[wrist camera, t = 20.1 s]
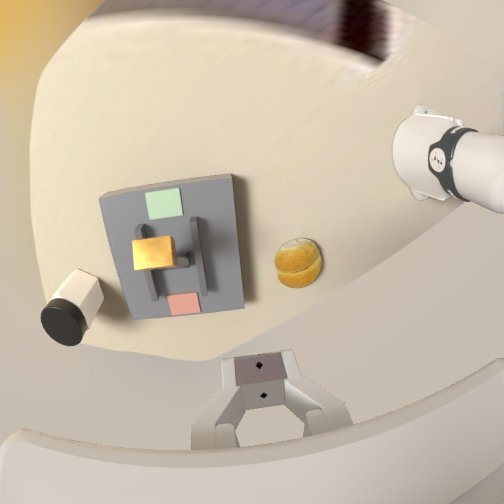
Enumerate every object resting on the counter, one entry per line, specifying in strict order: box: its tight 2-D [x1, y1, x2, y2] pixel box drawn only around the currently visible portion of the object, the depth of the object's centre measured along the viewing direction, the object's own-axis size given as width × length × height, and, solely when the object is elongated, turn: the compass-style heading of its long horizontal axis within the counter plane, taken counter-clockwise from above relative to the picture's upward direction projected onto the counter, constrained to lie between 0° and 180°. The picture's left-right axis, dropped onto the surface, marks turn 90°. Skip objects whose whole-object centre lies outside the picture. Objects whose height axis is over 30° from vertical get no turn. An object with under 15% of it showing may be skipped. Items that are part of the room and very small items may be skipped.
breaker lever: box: [132, 236, 191, 271], centre depth 36 cm, size 5×3×13 cm, turn 94°
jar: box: [41, 269, 104, 346], centre depth 41 cm, size 9×8×12 cm
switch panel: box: [99, 174, 245, 320], centre depth 43 cm, size 20×22×6 cm
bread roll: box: [275, 238, 322, 288], centre depth 48 cm, size 8×9×4 cm
